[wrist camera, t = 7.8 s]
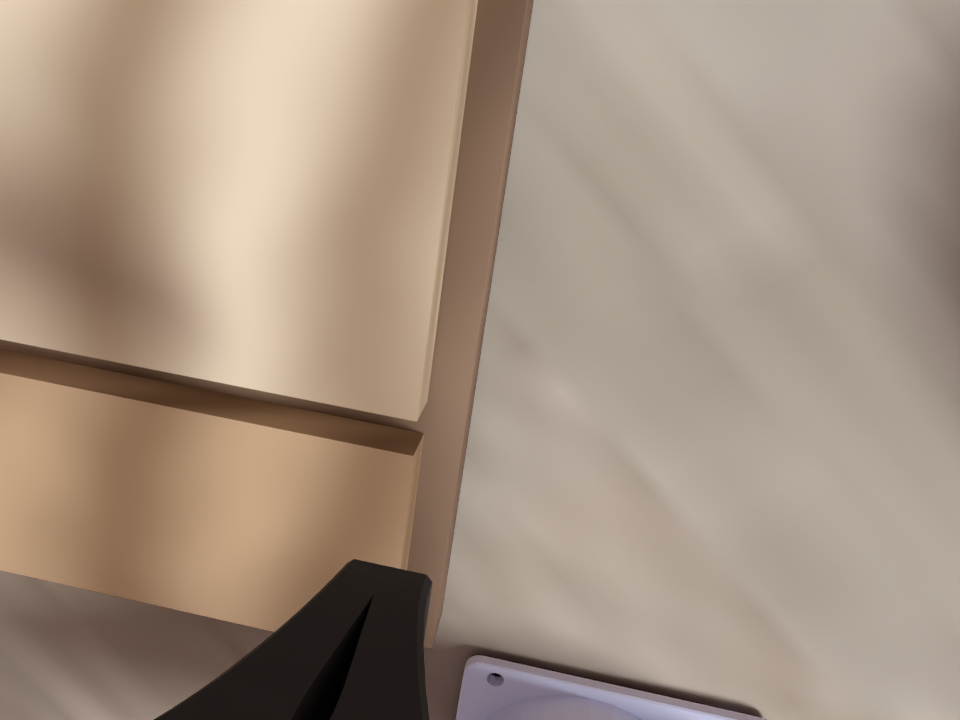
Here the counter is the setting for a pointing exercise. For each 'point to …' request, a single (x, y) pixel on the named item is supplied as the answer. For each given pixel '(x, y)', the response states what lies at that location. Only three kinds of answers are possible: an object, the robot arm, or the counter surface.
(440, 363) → the board
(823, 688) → the counter surface
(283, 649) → the robot arm
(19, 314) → the oak plank
